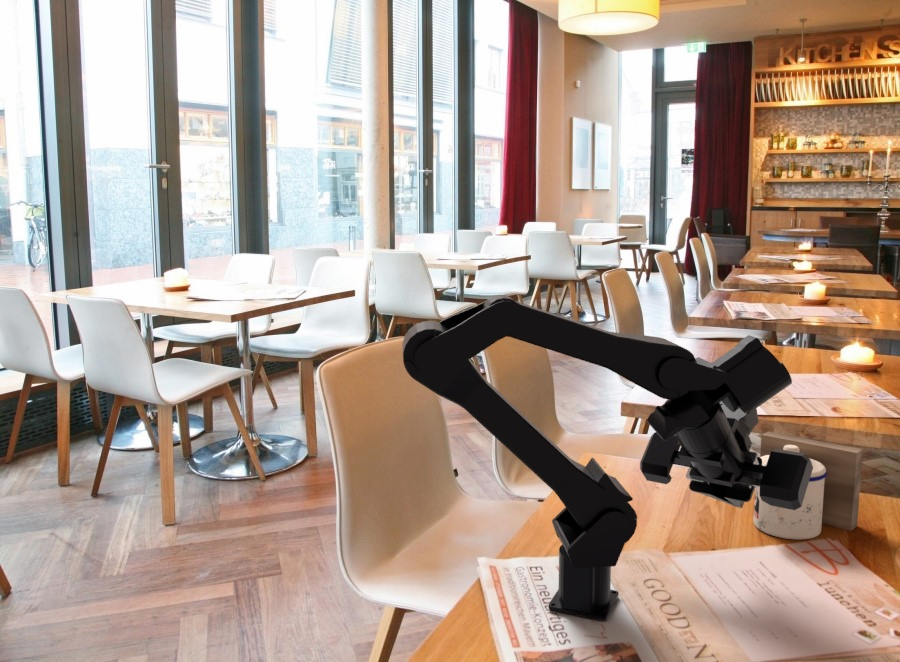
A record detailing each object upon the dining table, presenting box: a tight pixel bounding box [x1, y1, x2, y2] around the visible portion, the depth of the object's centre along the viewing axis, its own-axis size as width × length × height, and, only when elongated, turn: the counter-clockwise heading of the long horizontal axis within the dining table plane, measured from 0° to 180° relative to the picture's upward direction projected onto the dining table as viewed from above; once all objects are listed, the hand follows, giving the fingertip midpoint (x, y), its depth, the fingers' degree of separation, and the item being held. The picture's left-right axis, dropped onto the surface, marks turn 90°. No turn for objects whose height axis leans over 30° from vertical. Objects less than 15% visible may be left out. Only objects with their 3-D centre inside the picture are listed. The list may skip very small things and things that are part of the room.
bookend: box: [759, 431, 864, 532], centre depth 113 cm, size 2×13×11 cm, turn 46°
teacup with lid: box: [753, 445, 827, 541], centre depth 108 cm, size 12×9×12 cm
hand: (740, 504), depth 98 cm, fingers closed
